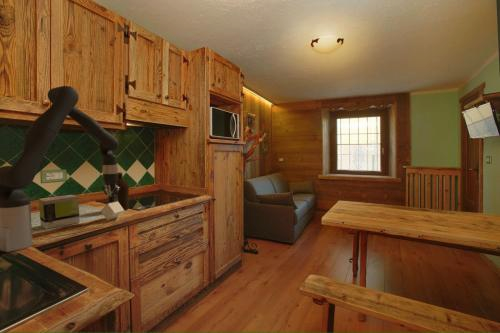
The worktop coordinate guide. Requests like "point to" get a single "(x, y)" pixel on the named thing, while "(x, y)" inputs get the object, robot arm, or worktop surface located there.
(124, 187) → the olive oil
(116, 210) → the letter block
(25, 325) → the worktop surface
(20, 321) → the worktop surface
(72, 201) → the tea box
